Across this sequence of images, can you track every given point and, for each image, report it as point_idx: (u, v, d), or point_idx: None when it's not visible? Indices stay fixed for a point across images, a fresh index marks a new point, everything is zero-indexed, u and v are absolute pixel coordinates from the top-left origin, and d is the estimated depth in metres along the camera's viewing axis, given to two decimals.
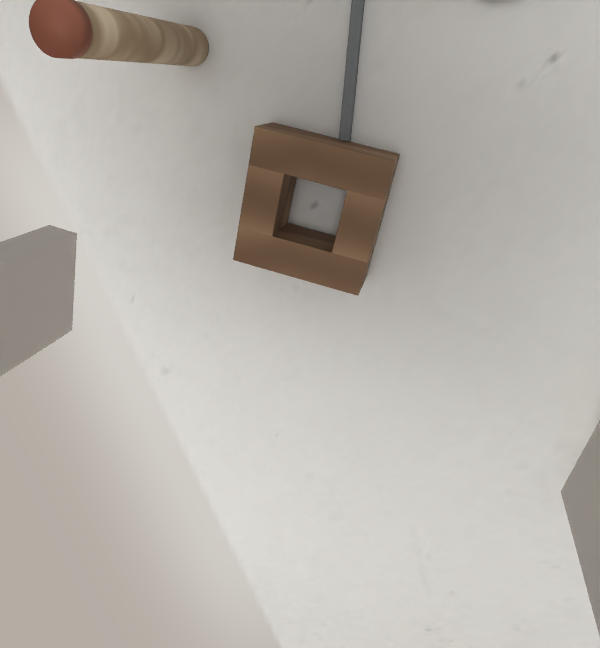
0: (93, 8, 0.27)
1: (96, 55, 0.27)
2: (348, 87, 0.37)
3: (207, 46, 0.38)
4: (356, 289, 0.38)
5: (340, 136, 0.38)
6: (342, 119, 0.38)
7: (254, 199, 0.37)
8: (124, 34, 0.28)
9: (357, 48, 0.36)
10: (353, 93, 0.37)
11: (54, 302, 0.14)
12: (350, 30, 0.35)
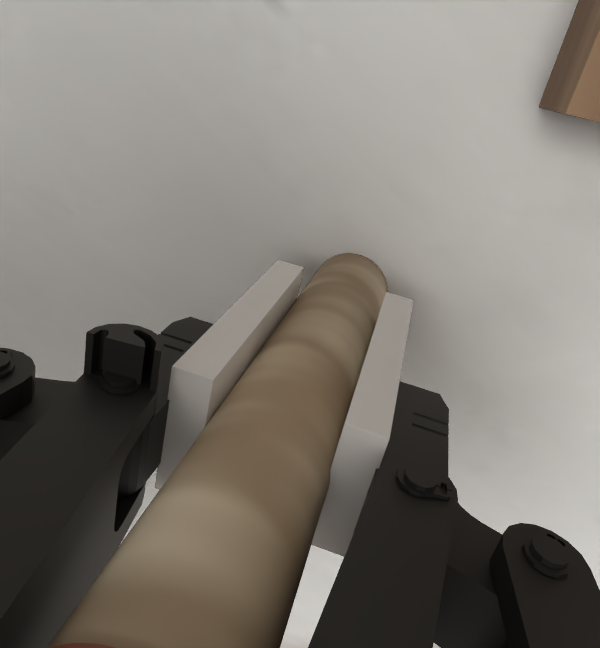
0: (99, 575, 0.07)
1: (264, 615, 0.06)
2: None
3: (350, 255, 0.18)
4: None
5: None
6: None
7: None
8: (231, 462, 0.08)
9: None
10: None
11: None
12: None
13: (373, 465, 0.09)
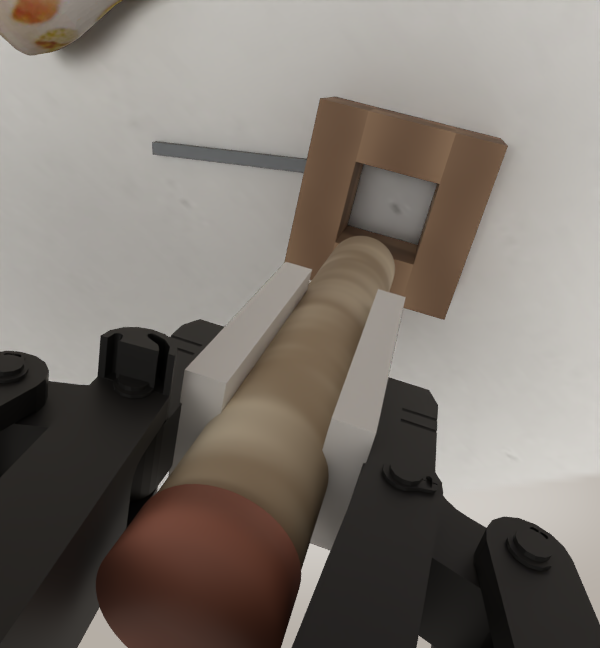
0: (184, 455, 0.09)
1: (309, 483, 0.09)
2: (260, 162, 0.32)
3: (363, 237, 0.20)
4: (497, 148, 0.26)
5: None
6: (293, 169, 0.32)
7: None
8: (278, 383, 0.10)
9: (222, 151, 0.33)
10: (266, 156, 0.32)
11: None
12: (206, 159, 0.33)
13: (360, 460, 0.09)
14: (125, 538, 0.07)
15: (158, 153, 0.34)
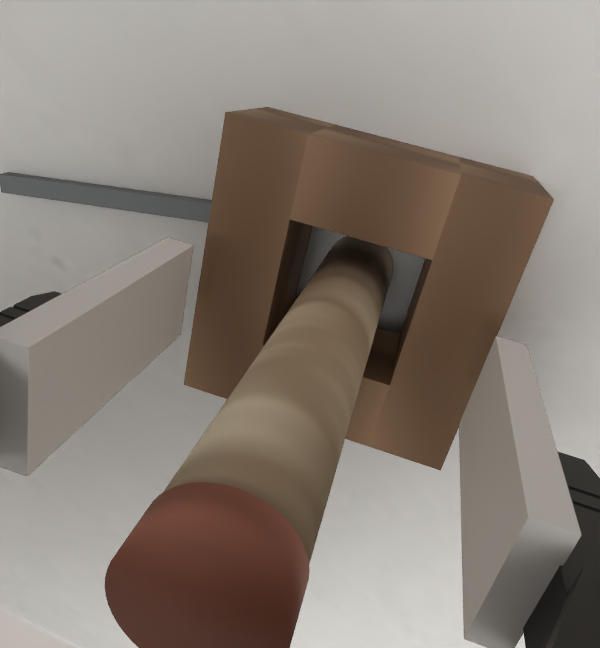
0: (192, 452, 0.09)
1: (316, 482, 0.09)
2: (157, 207, 0.21)
3: None
4: (535, 203, 0.15)
5: None
6: (207, 219, 0.21)
7: None
8: (283, 381, 0.10)
9: (101, 190, 0.21)
10: (167, 198, 0.21)
11: (173, 309, 0.15)
12: (79, 201, 0.22)
13: (557, 562, 0.08)
14: (137, 535, 0.07)
15: (9, 191, 0.22)
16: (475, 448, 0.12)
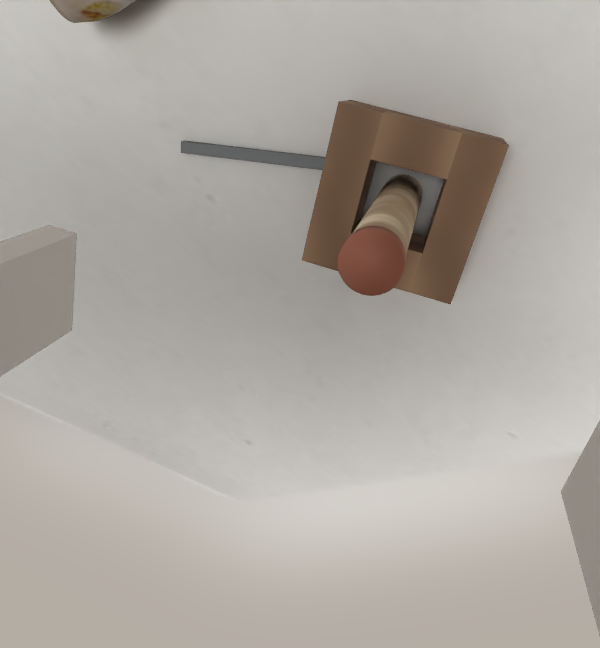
0: (356, 228, 0.23)
1: (405, 238, 0.23)
2: (281, 159, 0.35)
3: (404, 174, 0.34)
4: (499, 147, 0.29)
5: None
6: (311, 166, 0.35)
7: None
8: (386, 211, 0.24)
9: (246, 150, 0.36)
10: (287, 154, 0.35)
11: (54, 302, 0.14)
12: (231, 157, 0.36)
13: None
14: (352, 236, 0.21)
15: (186, 151, 0.37)
16: None
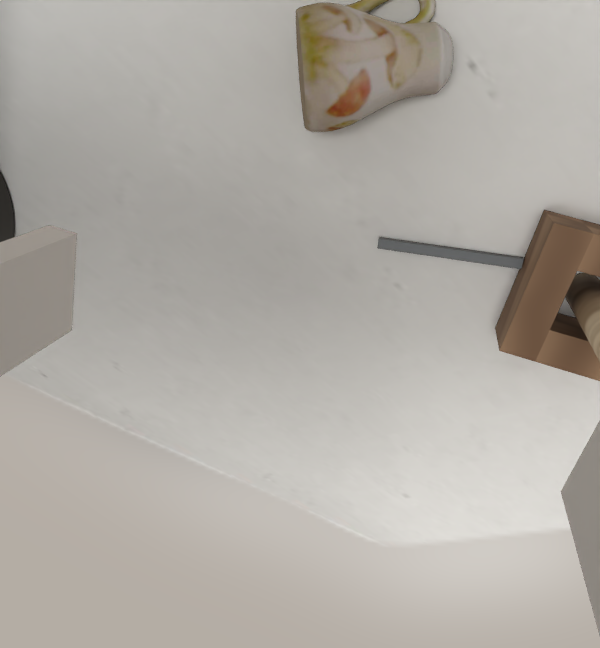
0: None
1: None
2: (473, 258, 0.40)
3: (587, 274, 0.39)
4: None
5: (518, 267, 0.39)
6: (502, 264, 0.39)
7: (571, 360, 0.37)
8: None
9: (441, 248, 0.40)
10: (479, 253, 0.40)
11: (54, 302, 0.14)
12: (425, 254, 0.40)
13: None
14: None
15: (382, 247, 0.41)
16: None
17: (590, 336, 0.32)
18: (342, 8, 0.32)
